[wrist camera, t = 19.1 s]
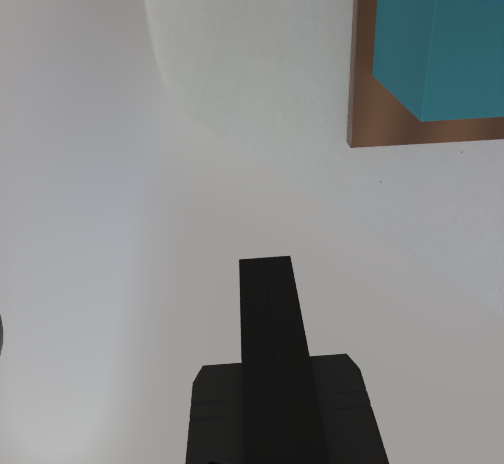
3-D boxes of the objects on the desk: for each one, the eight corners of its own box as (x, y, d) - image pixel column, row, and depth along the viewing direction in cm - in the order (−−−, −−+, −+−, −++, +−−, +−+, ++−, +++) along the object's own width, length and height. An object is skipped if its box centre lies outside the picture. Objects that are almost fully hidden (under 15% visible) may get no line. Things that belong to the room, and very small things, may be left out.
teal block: (371, 75, 28) (420, 122, 20) (378, -20, 26) (436, -8, 18) (507, 66, 28) (608, 110, 20) (527, -30, 25) (652, -22, 18)
